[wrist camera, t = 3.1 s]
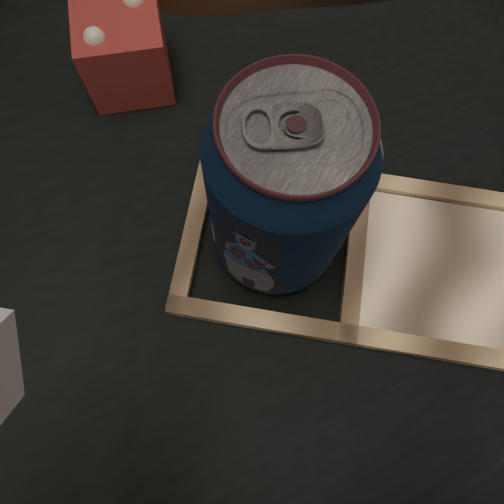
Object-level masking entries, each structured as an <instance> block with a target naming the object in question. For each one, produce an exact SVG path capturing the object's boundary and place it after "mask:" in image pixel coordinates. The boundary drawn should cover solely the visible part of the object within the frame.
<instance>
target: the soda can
mask: <svg viewBox="0 0 504 504" xmlns="http://www.w3.org/2000/svg"><path fill="white" fill-rule="evenodd" d="M380 136H381V123H380V117H379V113H378V110H377V107H376V104H375V102H374V100H373V98H372V96H371V95H370V93H369V92H368V90H367V89H366V88H365V86H364V85H363V84H362V83H361V82H360V81H359V80H358V79H357V78H356V77H355V76H354V75H352V74H351V73H350V72H348V71H347V70H345V69H344V68H342V67H341V66H339V65H337V64H335V63H333V62H331V61H328V60H326V59H323V58H320V57H316V56H312V55H304V54H286V55H278V56H273V57H269V58H265V59H262V60H259V61H257V62H255V63H253V64H251V65H249V66H247V67H245V68H244V69H242V70H241V71H240V72H238V73H237V74H236V75H235V76H234V77H233V78H232V79H231V80H230V81H229V82H228V83H227V84H226V86H225V87H224V89H223V90H222V92H221V93H220V95H219V98H218V100H217V102H216V105H215V108H214V110H213V111H212V113H211V114H210V116H209V118H208V120H207V122H206V124H205V126H204V129H203V133H202V136H201V142H200V161H201V167H202V173H203V179H204V185H205V191H206V197H207V203H208V209H209V215H210V220H211V226H212V232H213V238H214V244H215V249H216V252H217V255H218V258H219V260H220V262H221V263H222V265H223V267H224V268H225V269H226V271H227V272H228V273H229V274H230V275H231V276H232V277H233V278H234V279H235V280H236V281H238V282H239V283H241V284H242V285H244V286H246V287H247V288H250V289H252V290H254V291H258V292H261V293H266V294H287V293H292V292H296V291H299V290H301V289H303V288H306V287H307V286H309V285H311V284H312V283H314V282H315V281H316V280H317V279H319V278H320V277H321V276H322V275H323V274H324V272H325V271H326V270H327V268H328V267H329V265H330V263H331V262H332V260H333V259H334V257H335V255H336V254H337V252H338V251H339V249H340V247H341V246H342V244H343V242H344V241H345V239H346V238H347V236H348V234H349V233H350V231H351V229H352V228H353V226H354V225H355V223H356V221H357V220H358V218H359V217H360V215H361V213H362V212H363V210H364V208H365V207H366V205H367V204H368V202H369V200H370V199H371V197H372V196H373V194H374V192H375V190H376V188H377V186H378V183H379V181H380V177H381V173H382V168H383V148H382V142H381V138H380Z"/></svg>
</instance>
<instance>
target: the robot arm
mask: <svg viewBox="0 0 504 504" xmlns="http://www.w3.org/2000/svg"><path fill="white" fill-rule="evenodd" d="M24 395H25V393H24V385H23V377H22V369H21V361H20V353H19V345H18V336H17V328H16V320H15V312H14V310H11V309H5V308H0V425H1V424H2V423H3V421H4V420H5V419H6V418H7V416H8V415H9V414H10V413H11V411H12V410H13V409H14V408H15V406H16V405H17V404H18V402H19V401H20V400H21V399H22V397H23V396H24Z"/></svg>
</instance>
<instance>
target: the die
mask: <svg viewBox="0 0 504 504" xmlns="http://www.w3.org/2000/svg"><path fill="white" fill-rule="evenodd" d="M68 10H69V24H70V38H71V53H72V60H73V62H74V64H75V66H76V68H77V70H78V72H79V74H80V76H81V78H82V80H83V82H84V84H85V86H86V88H87V90H88V92H89V94H90V96H91V98H92V101H93V103H94V105H95V107H96V109H97V111H98V113H99V115H106V114H113V113H120V112H127V111H134V110H141V109H148V108H155V107H162V106H169V105H176V100H175V94H174V87H173V81H172V74H171V68H170V62H169V55H168V49H167V43H166V39H165V34H164V29H163V24H162V20H161V15H160V11H159V6H158V1H157V0H68Z"/></svg>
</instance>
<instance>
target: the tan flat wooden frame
mask: <svg viewBox="0 0 504 504" xmlns="http://www.w3.org/2000/svg"><path fill="white" fill-rule="evenodd" d="M207 212H208V203H207V197H206V191H205V185H204V179H203V173H202V167H201V161H200V162H199V166H198V171H197V175H196V179H195V184H194V188H193V192H192V196H191V201H190V205H189V209H188V214H187V218H186V222H185V227H184V231H183V235H182V239H181V244H180V248H179V252H178V257H177V261H176V265H175V270H174V274H173V278H172V282H171V287H170V291H169V295H168V300H167V304H166V308H165V312H166V314H168V315H174V316H180V317H186V318H191V319H197V320H203V321H209V322H215V323H221V324H227V325H233V326H239V327H245V328H251V329H256V330H262V331H268V332H274V333H280V334H286V335H292V336H298V337H304V338H310V339H316V340H321V341H327V342H333V343H339V344H345V345H351V346H357V347H363V348H369V349H375V350H381V351H386V352H392V353H398V354H404V355H410V356H416V357H422V358H428V359H434V360H440V361H446V362H451V363H457V364H463V365H469V366H475V367H481V368H487V369H493V370H499V371H504V193H503V192H497V191H490V190H484V189H477V188H471V187H465V186H458V185H452V184H445V183H439V182H432V181H426V180H420V179H413V178H407V177H400V176H394V175H387V174H381V177H380V181H379V183H378V186H377V188H376V190H375V192H374V194H373V196H372V197H371V199H370V200H369V202H368V204H367V205H366V207H365V208H364V210H363V212H362V213H361V215H360V217H359V218H358V220H357V221H356V223H355V225H354V226H353V228H352V229H351V231H350V233H349V234H348V236H347V239H346V249H345V258H344V268H343V278H342V287H341V297H340V307H339V317H338V322H334V321H328V320H322V319H316V318H310V317H304V316H298V315H292V314H286V313H280V312H274V311H268V310H263V309H257V308H251V307H245V306H239V305H233V304H227V303H221V302H215V301H209V300H203V299H197V298H191V297H189V295H190V290H191V286H192V281H193V277H194V272H195V267H196V263H197V258H198V253H199V249H200V244H201V240H202V235H203V230H204V226H205V221H206V217H207Z"/></svg>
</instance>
